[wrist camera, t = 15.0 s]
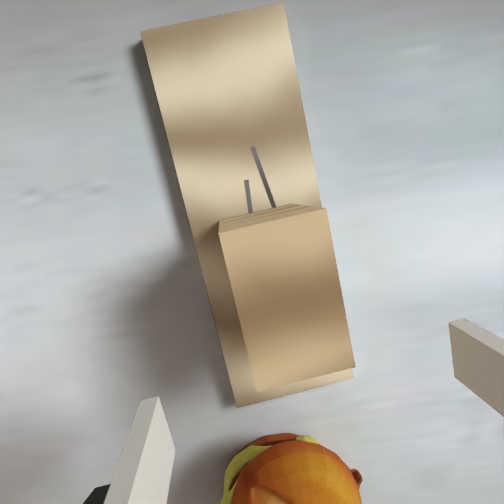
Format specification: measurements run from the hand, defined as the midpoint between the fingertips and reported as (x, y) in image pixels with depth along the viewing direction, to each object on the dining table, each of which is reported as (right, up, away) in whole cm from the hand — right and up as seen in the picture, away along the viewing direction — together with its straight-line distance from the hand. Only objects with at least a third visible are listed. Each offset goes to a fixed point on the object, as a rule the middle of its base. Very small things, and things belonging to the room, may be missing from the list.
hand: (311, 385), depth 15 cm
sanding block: (-1, +5, +9) cm, 10 cm away
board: (-2, +8, +9) cm, 13 cm away
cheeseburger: (0, -12, +13) cm, 18 cm away
